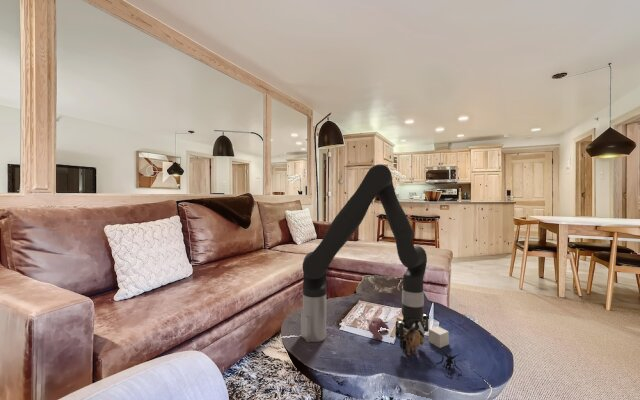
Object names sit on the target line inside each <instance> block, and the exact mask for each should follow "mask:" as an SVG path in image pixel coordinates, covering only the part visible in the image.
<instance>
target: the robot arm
mask: <svg viewBox="0 0 640 400" xmlns="http://www.w3.org/2000/svg"><path fill="white" fill-rule="evenodd" d="M376 197H378V199H379V201H380V202H381V205H382V207H383V210H384V214H385V216H386V217H385V218H386V219H387V222H388V226H389V228H390V230H391V233H392V235H393V237H394V239H395V245H396V251H397V256H398V259H399V261H400V263H401V265H403V266H404V267H406V271H405V273H404V274H403V275H402V291H401V315H403V320H402V321H400V322H399V321H397V320H396V321H395V331H394V332H395V333H394V334H395V335H394V337H395V338H396V339H398V340H399V347H400V349H401V350H402V351H404V352H405V351H407V340H406V339H407V337H408V336H409V335H410V334H411V332H412V331H419V332H420V335H421V336H422V337H423V338H424V337H425V333H426V332H428V333H429V316H428V315H427V314H425V313H424V311H425V310H424V309H425V307H424V306H425V303H424V302H425V298H424V297H425V294H424V277H425V273H426V269H427V268H426V267H427V263H428V257H427V253H426V250H425V248H423V247H422V246H419V245H414V243H413V239H414V237H415V232H414V229H413V227H412V225H411V223H410V221H409V218H408V217H407V215H406V212H405V210H404V209H403V207H402V205H401V203H400V201H399V199H398V197H397V193H396V192H395V187H394V183H393V175H392V172H391V169H390V168H389V167H388V166H387V165H385V164H383V163H380V164H379V163H378V164H375V165H373V166H371V167H370V168H369V170H368V171H367V172H366V174H365V176H364V178H363V179H362V180H361V183H360V184H359V186H358V188H357V189H356V190H355V192H354V193H353V194H352V196H351V197H350V198H349V199H348V200H347V201H346V203H345V204H344V206H343V207H342V208H341V209H340V211H339V212H338V213H337V215H336V216H335V217H334V219H333V220H332V222H331V223H330V225H329V226H328V229H327V230H326V232H325V234H324V236H323V238H322V240H321V242H320V243H319V244H318V245H317V247H316V248H315V249H314V250H313V251H310V252H308V253H307V254H306V255H305V257H304V258H303V262H302V272H303V279H302V311H301V312H300V336H301V338H302V339H304V341H305V342H307V343H320V342H322V341H324V340H326V338H327V270H328V268H329V267H330V265H331V263H332V261H333V260H334V258H335V257H336V255H337V253H339V251H340V250H341V249H342V248H343V247H344V245H346V243H347V242H348V241H349V240H350V238H351V237H352V236H353V235H354V233H355V232H356V231H357V230H358V228H359V227H360V225H361V224H362V222H363V220H364V218H365V216H366V215H367V213H368V210H369V208H370V206H371V204H372V202H373V201H374V199H375V198H376ZM405 328H406V329H407V330H408V331H405ZM404 333H405V336H403V335H404ZM420 346H423V344H422V343H420Z"/></svg>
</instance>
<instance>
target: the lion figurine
mask: <svg viewBox="0 0 640 400" xmlns="http://www.w3.org/2000/svg"><path fill="white" fill-rule="evenodd" d="M405 331H408V330H407V329H406V328H405ZM403 336H405V333H404V335H403ZM406 340H407V350H406V351H407V353H406V355H407V356H411V352H413V354H415V355H417V354H418V351H417V350H416V349H417V348H418V347H419V346H421V344H420V343H422V345H424V342H425V341H426V338H423V337H422V336H421V335H420V332H419V331H417V330H414V331H412V332H411V334H410V335H409V336H408V337H407V339H406ZM411 348H412V351H411Z"/></svg>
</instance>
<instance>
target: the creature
mask: <svg viewBox="0 0 640 400" xmlns="http://www.w3.org/2000/svg"><path fill="white" fill-rule="evenodd" d="M441 348H442V347H441ZM441 348H439V349H440V350H442V349H441ZM442 353H443V354H444V355H445V356H446V358H447V359H446V360H445V359H444V357H443V356H441V358H442V360H441V361H440V362H437V363H436V364H435V365H434V368H435V369H437V368H436V366H437V365H439V364H443V365H441V366H442V368H440V369H439V368H438V370H439V371H440V370H441V369H444V370H445V371H447V368H448V374H447V375H448V376H449V373H450V371H451V367H452V366H453V370H454V371H456V369H457V370H459V371H460V375H459V377H460V376H462V373H463V372H462V370H461V369H460V368H459V367H458V365H457V364H456V360H454V359H455V358H456V357H457V356H459V355H460V353H458V354H455V355H453V356H451V355H448V354H447V353H446V352H445V351H442ZM444 360H445V362H444ZM453 360H454V361H453ZM443 362H444V363H443ZM443 367H445V368H443ZM455 368H456V369H455ZM454 374H456V372H454ZM456 375H457V374H456Z"/></svg>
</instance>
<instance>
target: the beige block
mask: <svg viewBox="0 0 640 400" xmlns="http://www.w3.org/2000/svg"><path fill="white" fill-rule="evenodd" d="M449 337H450V333H449V331H448V330H446V329H444V328H442V327H441V326H438V325H437V326H433V327H431V328H428V342H429V343H430V344H432V345H434V346H436V347H437V348H439V349H440V348H444V347H446V346H448V345H449V343H450V342H449V341H450V340H449V339H450V338H449Z"/></svg>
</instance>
